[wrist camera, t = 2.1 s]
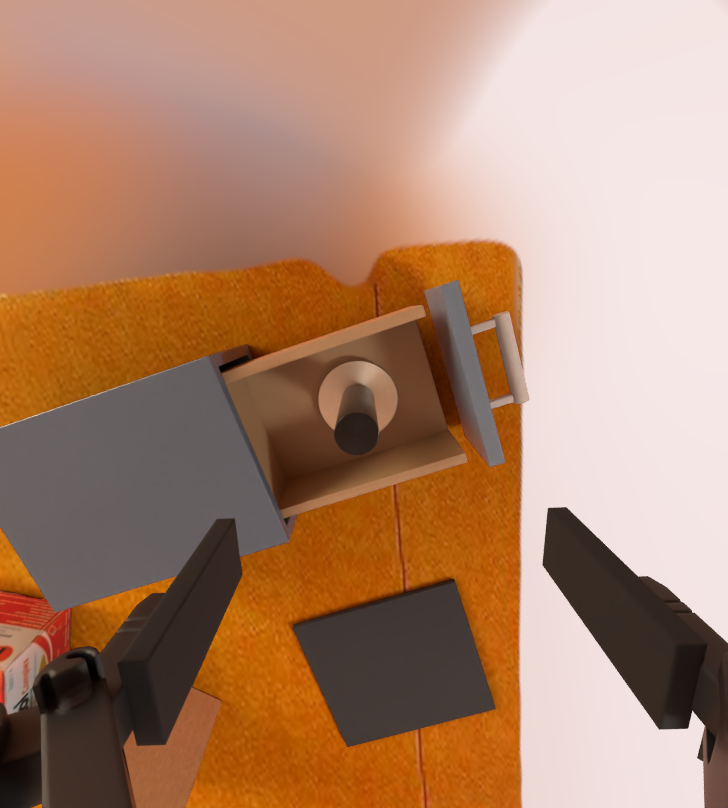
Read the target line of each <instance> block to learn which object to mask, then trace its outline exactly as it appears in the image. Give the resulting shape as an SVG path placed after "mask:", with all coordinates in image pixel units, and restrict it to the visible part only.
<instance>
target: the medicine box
mask: <svg viewBox="0 0 728 808" xmlns="http://www.w3.org/2000/svg"><path fill="white" fill-rule="evenodd" d="M70 630H71V608H68V609H65V610H62V611H58V612H54V610H53V609H52V607H51V606H50V604H49V603H48V601H47V600H46V598H43V599H36V598H30V597H25V596H24V595H23V594H16V593H9V592H2V591H1V590H0V702H1V703H2V704H3V705H4V706H5V707H6V710H7V713H8V715H9V714H12V713H15V712H18V711H22V710H25V709H28V708H31V707H35V706H38V704H37V701H36V698H35V695H34V692H33V689H32V686H33V683H34V680H35V678H36V676H37V675H38V674H39V672H40V671H41V670H42V669H43V668H44V667H45V666H46V665H47V664H48V663H50V662H51V661H52V660H53V659H55V658H57V657H58V656H60V655H62V654H63V653H65V652H67V651H70Z"/></svg>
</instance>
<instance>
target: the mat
mask: <svg viewBox="0 0 728 808" xmlns="http://www.w3.org/2000/svg"><path fill="white" fill-rule="evenodd" d="M293 630H294V632H295V634H296V636H297V638H298V641H299V643H300V645H301V647H302V649H303V651H304V654H305V656H306V658H307V660H308V662H309V665H310V667H311V669H312V671H313V673H314V675H315V678H316V680H317V682H318V684H319V686H320V688H321V691H322V693H323V695H324V697H325V699H326V702H327V704H328V706H329V708H330V710H331V712H332V715H333V717H334V719H335V721H336V723H337V725H338V728H339V730H340V732H341V734H342V736H343V739H344V741H345V743H346V745H347V747H350V746H354V745H358V744H361V743H365V742H369V741H373V740H377V739H381V738H385V737H389V736H393V735H396V734H400V733H404V732H408V731H412V730H416V729H420V728H424V727H427V726H431V725H435V724H439V723H443V722H447V721H451V720H455V719H459V718H462V717H466V716H470V715H474V714H478V713H482V712H486V711H490V710H493V709H495V705H494V702H493V699H492V696H491V693H490V690H489V686H488V683H487V680H486V677H485V674H484V671H483V668H482V664H481V661H480V658H479V655H478V652H477V649H476V646H475V643H474V639H473V636H472V633H471V630H470V627H469V624H468V621H467V618H466V614H465V611H464V608H463V605H462V602H461V599H460V596H459V592H458V589H457V586H456V583H455V580H454V579H452V580H448V581H445V582H441V583H438V584H434V585H431V586H427V587H424V588H420V589H417V590H413V591H410V592H406V593H403V594H399V595H396V596H392V597H389V598H385V599H382V600H378V601H375V602H371V603H368V604H364V605H361V606H357V607H354V608H350V609H347V610H343V611H340V612H336V613H333V614H329V615H325V616H322V617H318V618H315V619H311V620H308V621H304V622H301V623H297V624H294V625H293Z"/></svg>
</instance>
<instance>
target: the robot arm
mask: <svg viewBox="0 0 728 808" xmlns="http://www.w3.org/2000/svg"><path fill="white" fill-rule="evenodd" d="M543 566H544V568H545V569H546V570H547V572H548V573H549V575H550V576H551V578H552V579H553V580H554V582H555V583H556V585H557V586H558V587H559V589H560V590H561V592H562V593H563V594H564V596H565V597H566V599H567V600H568V601H569V603H570V604H571V606H572V607H573V609H574V610H575V611H576V613H577V614H578V616H579V617H580V618H581V619H582V621H583V623H584V624H585V626H586V627H587V628H588V629H589V631H590V633H591V634H592V635H593V637H594V638H595V640H596V641H597V642H598V644H599V645H600V646H601V648H602V650H603V651H604V652H605V654H606V655H607V657H608V658H609V659H610V661H611V662H612V664H613V665H614V666H615V668H616V669H617V671H618V672H619V673H620V675H621V676H622V678H623V679H624V680H625V682H626V683H627V685H628V686H629V688H630V689H631V690H632V692H633V693H634V695H635V696H636V697H637V699H638V700H639V702H640V703H641V705H642V706H643V707H644V709H645V710H646V711H647V713H648V714H649V716H650V717H651V718H652V720H653V721H654V723H655V724H656V726H657V727H658V728H659V729H687V728H688V727H689V722H690V718H691V713H692V710H693V712H694V713H695V714H696V715H697V717H698V718H699V719H700V720H701V721H702V723H703V724H704V725H705V729H704V733H703V737H702V741H701V745H700V749H699V753H698V757H697V758H698V759H700V760H702V761H703V762H704V763H703V765H704V800H705V801H704V802H705V808H728V643H727V642H726V641H725V640H724V639H723V638H721V636H719V635H718V634H717V633H716V632H715V631H714V630H713V629H712V628H711V627H709V626H708V625H707V624H706V623H705V622H704V621H703V620H702V619H701V618H700V617H699V616H697V615H696V614H695V613H692V610H691V609H690V608H689V607H687V606H686V605H685V604H684V603H683V602H681V601H680V599H679V598H678V597H677V596H675V595H674V594H673V593H672V592H671V591H670V590H669V589H668V588H667V587H665V586H664V585H662V584H660V583H658V582H657V581H655V580H653V579H652V578H650V577H648V576H646V577H645V576H644V577H638V576H637V575H636V574H635V573H634V572H633V571H631V569H629V567H627V566H626V565H625V564H624V563H623V562H622V561H621V560H620V559H619V558H618V557H617V556H616V555H615V554H614V553H613V552H612V551H611V550H610V549H609V548H608V547H607V546H606V545H605V544H604V543H603V542H602V541H601V540H600V539H599V538H597V537H596V536H595V535H594V534H593V533H592V532H591V531H590V530H589V529H588V528H587V527H586V526H585V525H584V524H583V523H582V522H581V521H580V520H579V519H578V518H577V517H576V516H574V514H573V513H571V511H570V510H568V509H567V508H566V507H563V508H548V513H547V524H546V535H545V545H544V555H543ZM241 576H242V569H241V561H240V553H239V546H238V538H237V530H236V523H235V518H226V519H216V521H215V522H214V523H213V525H212V526H211V528H210V529H209V531H208V532H207V534H206V535H205V536H204V538H203V539H202V541H201V542H200V544H199V545H198V547H197V548H196V549H195V551H194V552H193V554H192V555H191V557H190V558H189V560H188V561H187V562H186V564H185V565H184V567H183V568H182V570H181V571H180V572H179V574H178V575H177V577H176V578H175V580H174V581H173V583H172V584H171V585H170V587H169V588H168V590H167V591H166V593H152V594H150V595H149V596H148V597H147V598H145V599H144V600H143V601H142V602H140V603H139V604H138V605H137V606H136V607H135V608H134V610H133V611H132V612H131V614H130V615H129V616H128V618H127V620H126V621H125V622H124V623H123V624H122V625H121V627H120V628H119V629H118V633H115V635H114V636H113V637H112V639H111V640H110V641H109V643H108V644H107V645H106V647H105V648H104V649H103V650H102V652H101V653H99V652H98V650H97V649H96V648H93V647H89V646H87V647H79V648H76V649H73V650H70V651H67V652H65V653H63V654H62V655H60V656H58V657H57V658H55V659H53V660H52V661H51V662H50V663H48V664H47V665H46V666H45V667H44V668H43V669H42V670H41V671H40V672H39V674H38V675H37V676H36V678H35V680H34V683H33V686H32V689H33V692H34V695H35V698H36V701H37V704H38V706H35V707H31V708H28V709H25V710H22V711H18V712H15V713H12V714H9V715H8V713H7V710H6V707H5V706H4V705H3V704H2V703H1V702H0V808H31V807H34V806H37V805H39V804H42V808H136V803H135V798H134V793H133V789H132V784H131V779H130V775H129V770H128V765H127V760H126V756H125V751H124V745H125V743H126V741H127V740H128V738H129V736H130V734H131V732H132V730H133V732H134V736H135V740H136V745H137V746H150V745H166V743H167V741H168V738H169V736H170V734H171V732H172V730H173V727H174V725H175V723H176V721H177V718H178V716H179V714H180V712H181V710H182V707H183V705H184V703H185V701H186V698H187V696H188V694H189V692H190V690H191V687H192V685H193V683H194V681H195V678H196V676H197V674H198V672H199V670H200V667H201V665H202V663H203V661H204V659H205V656H206V654H207V652H208V650H209V647H210V645H211V643H212V641H213V639H214V636H215V634H216V632H217V630H218V627H219V625H220V623H221V621H222V619H223V616H224V614H225V612H226V610H227V607H228V605H229V603H230V601H231V599H232V596H233V594H234V592H235V590H236V587H237V585H238V583H239V581H240V579H241Z"/></svg>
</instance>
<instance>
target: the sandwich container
mask: <svg viewBox="0 0 728 808" xmlns="http://www.w3.org/2000/svg"><path fill="white" fill-rule="evenodd" d="M221 702H222V701H221V700H219V699H217V698H214V697H212V696H210V695H208V694H206V693H203V692H201V691H199V690H197V689H195V688H192V687H191V690H190V692H189V694H188V696H187V698H186V701H185V703H184V705H183V707H182V710H181V712H180V714H179V716H178V718H177V721H176V723H175V725H174V727H173V730H172V732H171V734H170V736H169V738H168V741H167V743H166V745H150V746H137V745H136V740H135V736H134V732H133V730H132V732H131V734H130V736H129V738H128V740H127V741H126V743H125V745H124V751H125V756H126V760H127V765H128V770H129V775H130V779H131V784H132V789H133V793H134V798H135V803H136V808H185V807H186V804H187V801H188V798H189V795H190V793H191V790H192V787H193V784H194V781H195V778H196V775H197V772H198V769H199V766H200V764H201V761H202V758H203V755H204V752H205V749H206V746H207V743H208V740H209V737H210V734H211V731H212V728H213V726H214V723H215V720H216V717H217V714H218V711H219V708H220V705H221Z"/></svg>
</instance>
